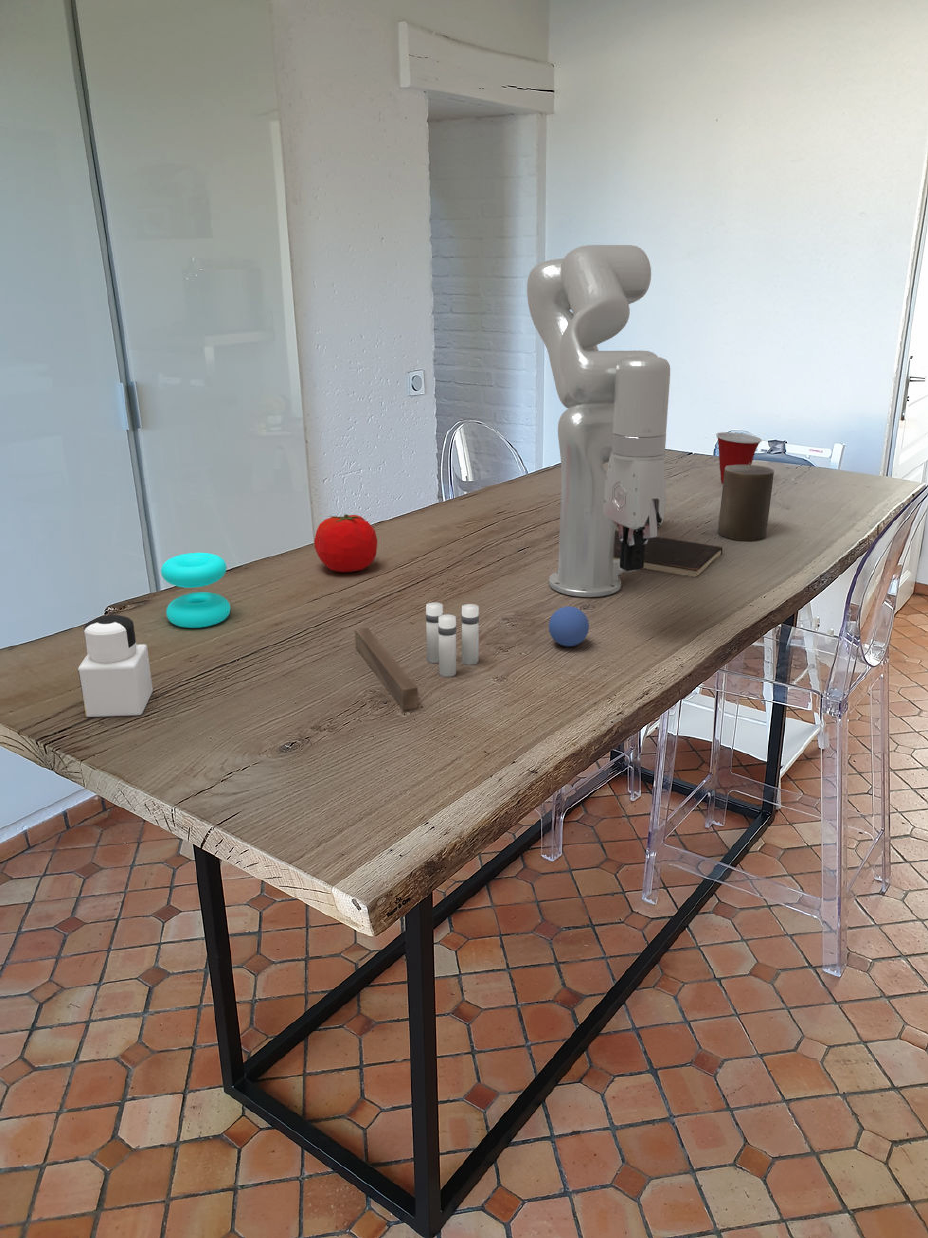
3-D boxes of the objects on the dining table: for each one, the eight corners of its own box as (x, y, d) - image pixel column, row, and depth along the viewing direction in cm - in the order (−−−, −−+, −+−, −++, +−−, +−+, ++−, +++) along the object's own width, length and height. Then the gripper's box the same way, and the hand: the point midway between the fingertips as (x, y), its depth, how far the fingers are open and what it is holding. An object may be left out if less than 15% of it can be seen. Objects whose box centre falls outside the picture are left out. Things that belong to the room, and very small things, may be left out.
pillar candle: (758, 544, 192) (767, 470, 186) (710, 536, 197) (718, 463, 191) (771, 532, 200) (781, 461, 194) (725, 525, 204) (733, 455, 199)
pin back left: (452, 668, 137) (452, 613, 134) (459, 675, 135) (458, 619, 132) (436, 671, 137) (435, 615, 133) (442, 678, 134) (442, 622, 131)
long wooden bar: (368, 646, 145) (367, 627, 144) (417, 708, 126) (417, 687, 125) (355, 648, 144) (354, 629, 143) (403, 710, 125) (402, 690, 124)
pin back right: (440, 655, 142) (439, 601, 139) (446, 661, 140) (445, 607, 136) (424, 657, 141) (423, 603, 138) (430, 664, 139) (429, 609, 136)
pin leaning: (474, 656, 141) (475, 602, 138) (481, 663, 139) (481, 608, 136) (458, 659, 140) (458, 605, 137) (465, 666, 138) (465, 611, 135)
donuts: (230, 565, 149) (164, 573, 145) (236, 625, 153) (172, 634, 149) (219, 547, 158) (156, 554, 154) (225, 604, 161) (163, 613, 158)
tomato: (368, 581, 172) (366, 525, 168) (307, 577, 174) (303, 522, 170) (386, 560, 183) (384, 507, 179) (328, 556, 185) (326, 504, 181)
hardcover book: (695, 581, 173) (697, 569, 173) (578, 560, 184) (579, 549, 183) (721, 557, 186) (723, 546, 185) (611, 539, 197) (611, 528, 196)
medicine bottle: (99, 693, 130) (86, 611, 126) (153, 691, 131) (142, 609, 126) (85, 718, 124) (70, 632, 119) (141, 716, 124) (129, 630, 120)
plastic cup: (761, 489, 233) (767, 439, 228) (717, 489, 233) (721, 439, 228) (750, 478, 243) (755, 430, 238) (707, 478, 243) (711, 430, 238)
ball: (576, 634, 149) (577, 598, 147) (595, 649, 144) (597, 611, 142) (541, 640, 147) (542, 603, 145) (559, 655, 142) (561, 617, 139)
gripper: (589, 439, 143) (585, 558, 149) (644, 457, 130) (636, 586, 136) (633, 436, 145) (626, 552, 152) (691, 453, 132) (681, 579, 139)
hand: (631, 568), depth 144 cm, fingers closed
